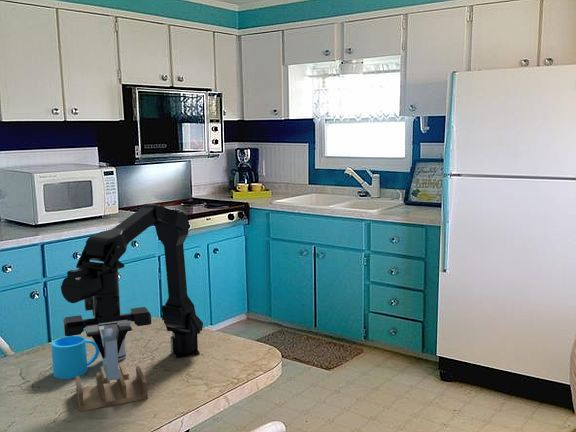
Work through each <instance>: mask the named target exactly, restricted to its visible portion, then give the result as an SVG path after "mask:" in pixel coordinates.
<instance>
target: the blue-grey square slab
mask: <svg viewBox="0 0 576 432" xmlns="http://www.w3.org/2000/svg"><path fill="white" fill-rule="evenodd" d="M100 333H101V338H102V343H103V348H104V359H103V358H102V357H101V358H102V359H101V360H102V366H103V368H104V371H105V374H106V378H107V381H110V382H111V381H114V380H116V381H117V379H119V361H118V351H117V340H116V337H115V335H114V332H113V330H112V328H109V329H104V328H103V329H100Z"/></svg>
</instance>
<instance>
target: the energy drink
mask: <svg viewBox="0 0 576 432" xmlns="http://www.w3.org/2000/svg"><path fill="white" fill-rule="evenodd" d="M120 314H121V315H122V314H124V313H123V312H120ZM109 328H112V330H113V332H114V335H116V326H115V324H111V325H104V326H103V329H109ZM126 345H127V343H126V337H125V338H124V340H123V342H122V345H121V348H120V351H119V353H118V362H120V361H123V360H124V359H126V357H127V346H126Z"/></svg>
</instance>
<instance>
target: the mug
mask: <svg viewBox="0 0 576 432" xmlns="http://www.w3.org/2000/svg"><path fill="white" fill-rule="evenodd" d="M87 344H91V345H92V346H94V348H95V353H94V355H93V356H92V358H91V359H89V361H88V356H87V355H88V354H87ZM50 345H51V347H50V348H51V360H52V361H51V362H52V373H53V377H54V378H56V379H61V380H62V379H63V380H64V379H65V380H66V379H73V378H76V376H79V377H80V376H83V375H84V374H86V373H87V372H88V366H90V365H91V364H93V363H94V362H95V361H96V360H97V359H98V358H99V355H100V351H99V348H98V346H97V344H96V343H95V341H94V340H93V339H92V340H91V339H86V338H85V337H83V336H81V335H74V336H61V337H59V338H56V339H54V340H52V341H51V344H50Z"/></svg>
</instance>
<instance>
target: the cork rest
mask: <svg viewBox="0 0 576 432" xmlns="http://www.w3.org/2000/svg"><path fill="white" fill-rule="evenodd" d="M118 368H119V369H120V371H121V374H122V376H123V379H124V380H130V375H129V371H128V369H127V366H126V364H125V362H124V361H123V362H118ZM100 375H101V378H102V382H103V384H106V383H111V380H110V381H107V378H106V374H105V371H104V368H103V365H100Z"/></svg>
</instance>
